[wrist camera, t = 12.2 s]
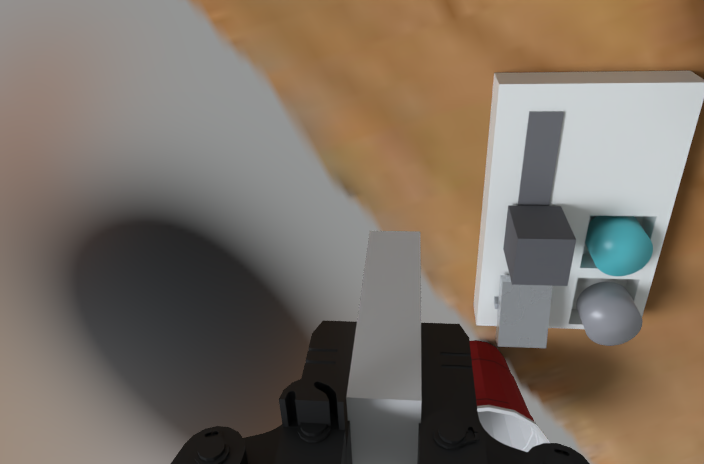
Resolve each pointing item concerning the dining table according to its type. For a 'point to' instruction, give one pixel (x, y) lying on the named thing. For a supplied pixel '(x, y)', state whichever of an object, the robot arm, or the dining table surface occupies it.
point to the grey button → (608, 313)
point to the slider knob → (538, 245)
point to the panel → (584, 167)
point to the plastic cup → (502, 400)
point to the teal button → (618, 244)
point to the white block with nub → (522, 314)
